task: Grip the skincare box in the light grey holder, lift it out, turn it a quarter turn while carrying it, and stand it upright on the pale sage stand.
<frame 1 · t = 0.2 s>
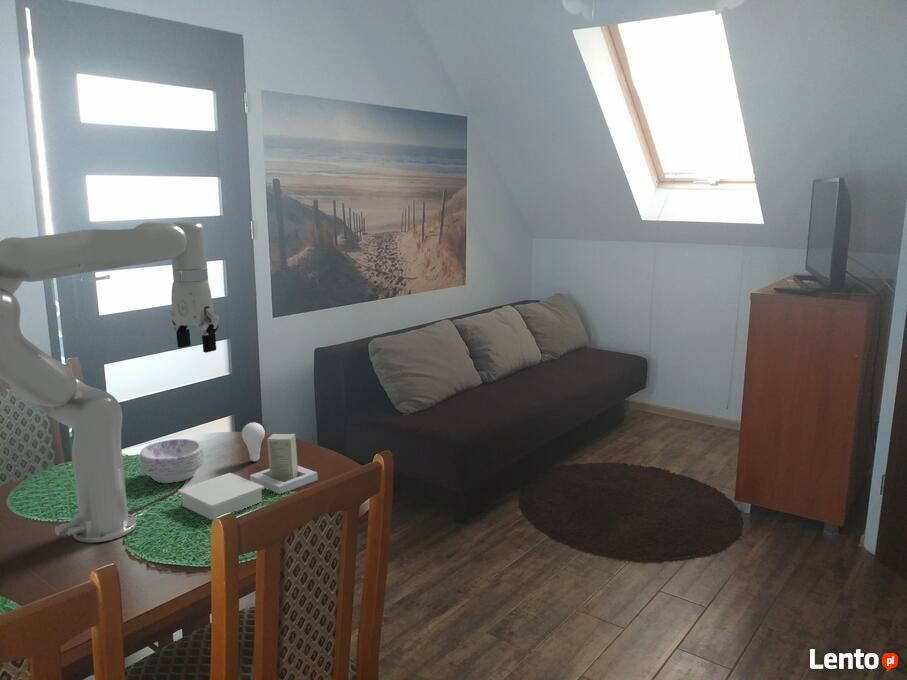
hand: (196, 349, 169), 36 cm above the table, tool pointing down, fingers open, 9 cm apart
holder: (284, 481, 184), on the table
stand: (222, 504, 171), on the table
skincare box: (284, 482, 184), resting in holder
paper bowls: (174, 477, 188), on the table
lightbulb: (254, 461, 199), on the table
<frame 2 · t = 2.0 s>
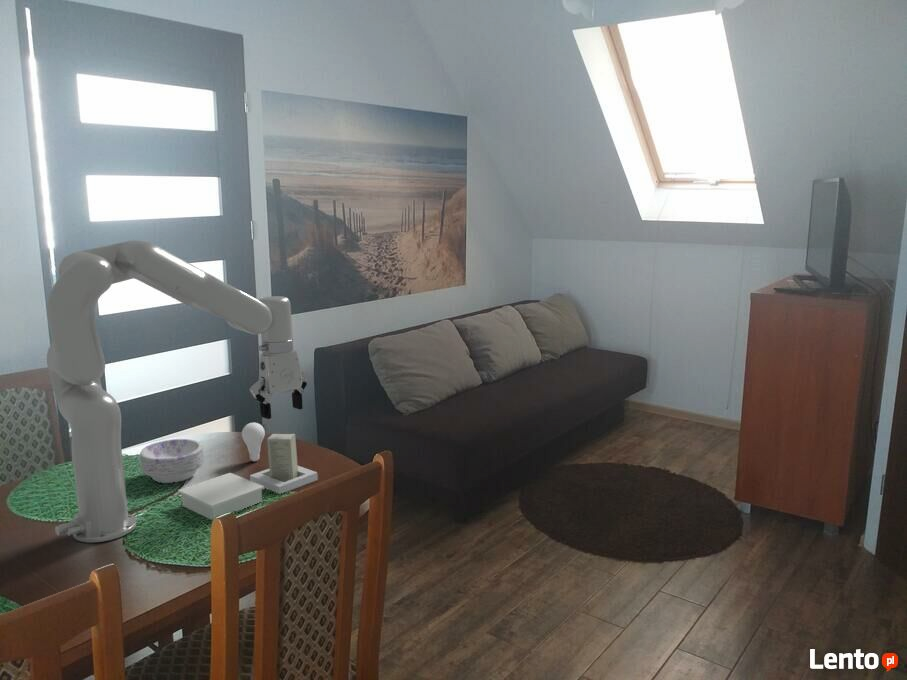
hand: (282, 413, 181), 18 cm above the table, tool pointing down, fingers open, 9 cm apart
nothing on the table moved.
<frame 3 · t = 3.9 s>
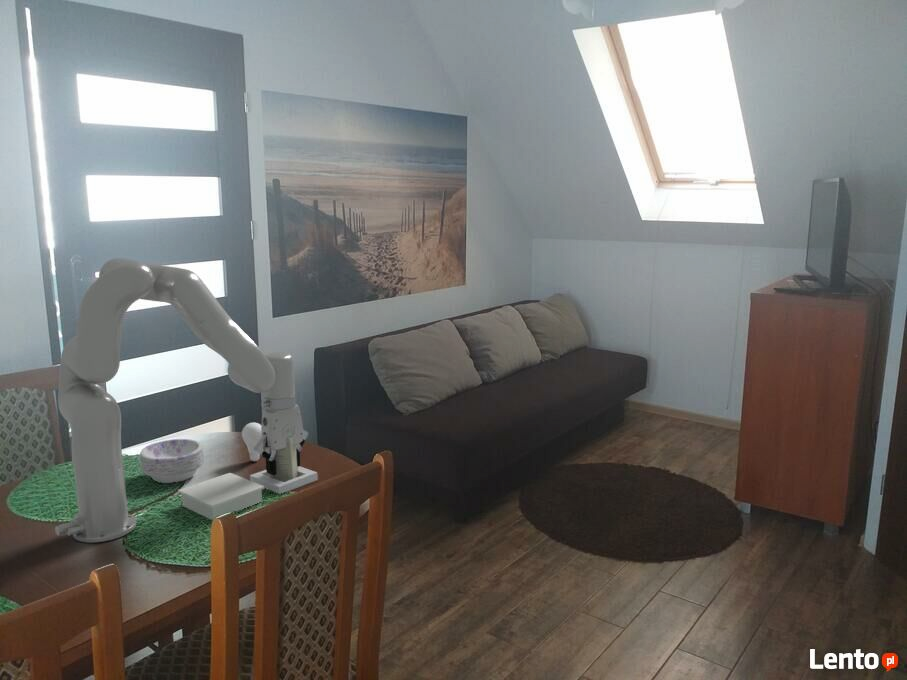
hand: (283, 469, 184), 3 cm above the table, tool pointing down, fingers closed on skincare box, 6 cm apart
skincare box: (284, 482, 184), resting in holder, touching gripper
everything else where it was.
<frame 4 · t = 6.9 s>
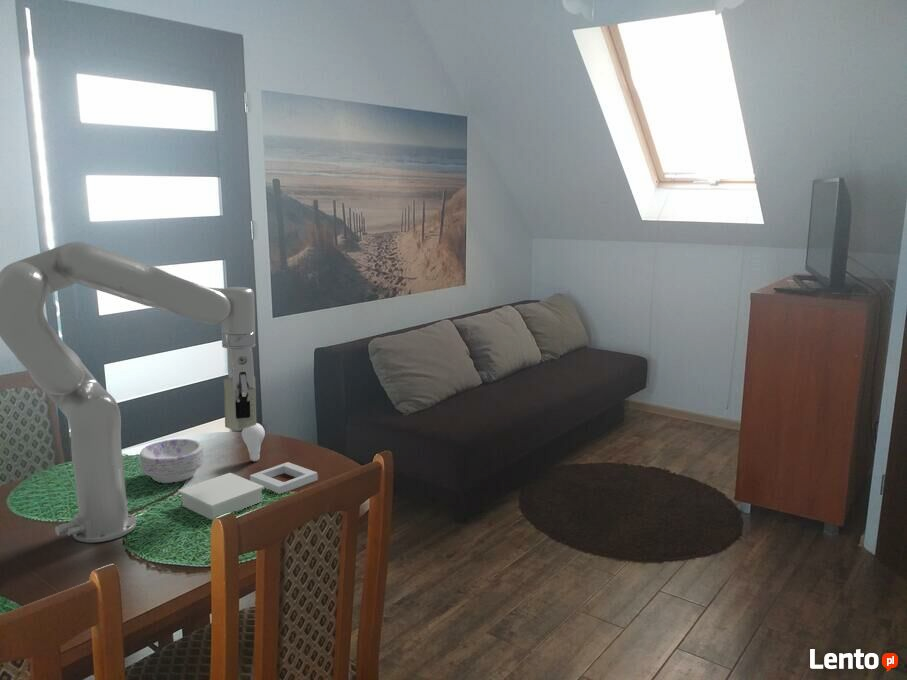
hand: (240, 413, 172), 21 cm above the table, tool pointing down, fingers closed on skincare box, 6 cm apart
skincare box: (240, 427, 172), point 17 cm above the table, touching gripper
everything else where it was.
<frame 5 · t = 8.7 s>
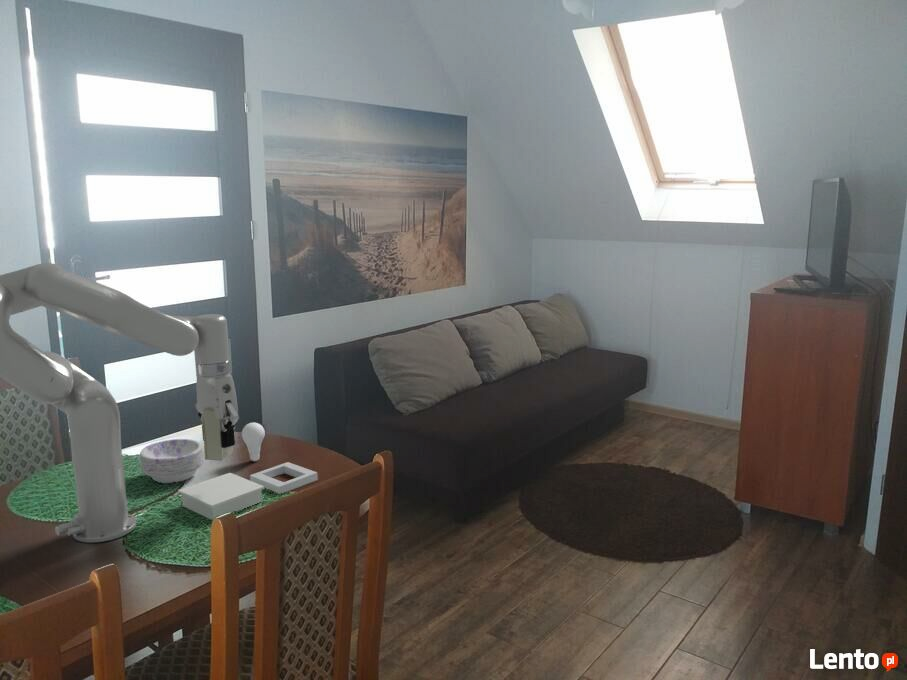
hand: (218, 442, 168), 15 cm above the table, tool pointing down, fingers closed on skincare box, 6 cm apart
skincare box: (219, 456, 168), point 12 cm above the table, touching gripper
everything else where it was.
when the fingers open (9 cm above the table, at t = 10.4 s): skincare box drops 1 cm, resting on stand.
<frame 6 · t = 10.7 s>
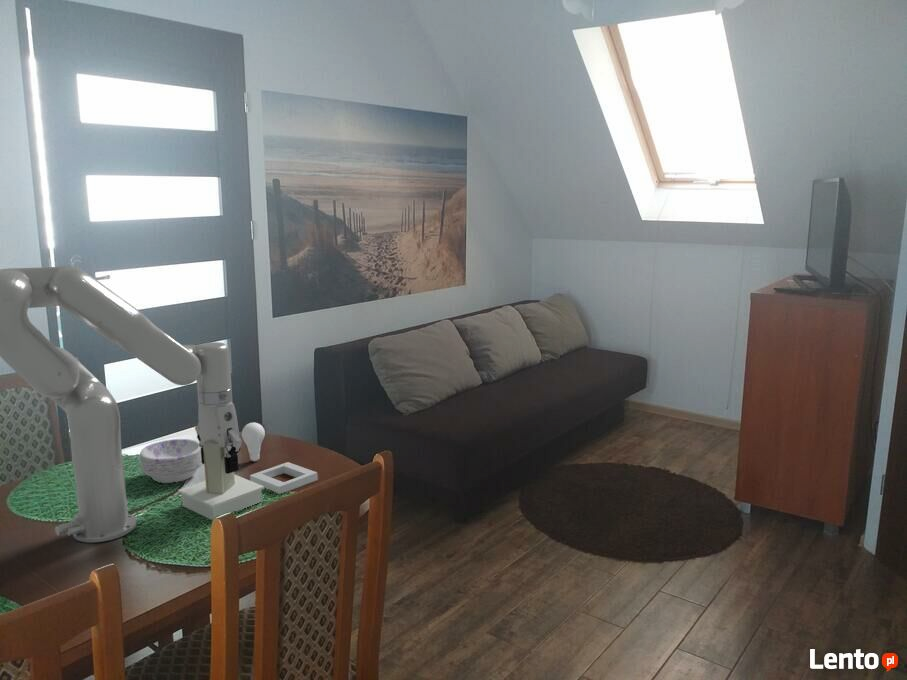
hand: (220, 467, 169), 9 cm above the table, tool pointing down, fingers open, 9 cm apart
skincare box: (221, 489, 169), point 4 cm above the table, touching stand
everything else where it was.
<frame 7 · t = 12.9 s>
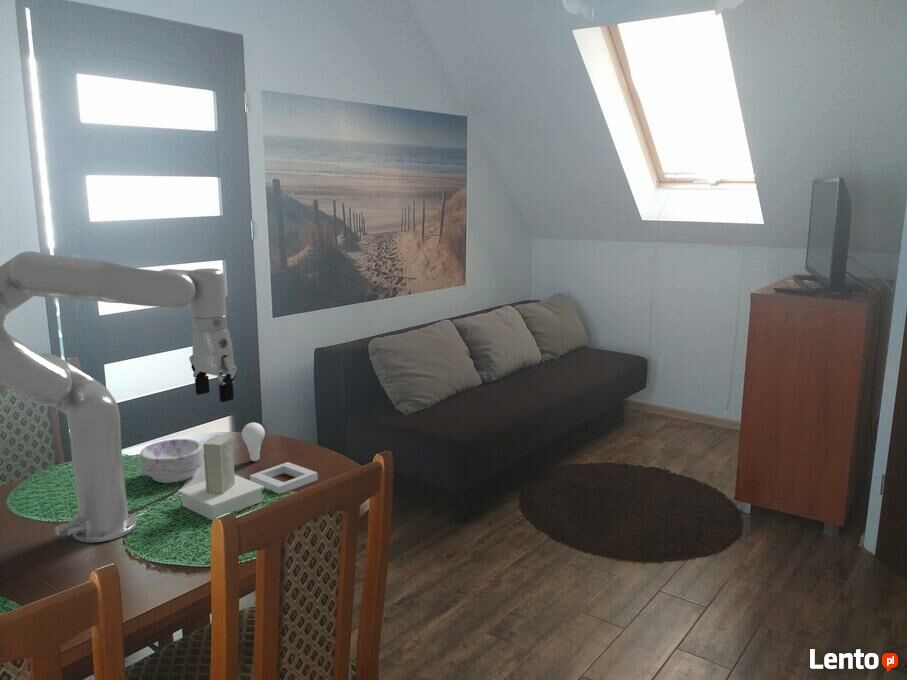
hand: (214, 397, 166), 26 cm above the table, tool pointing down, fingers open, 9 cm apart
nothing on the table moved.
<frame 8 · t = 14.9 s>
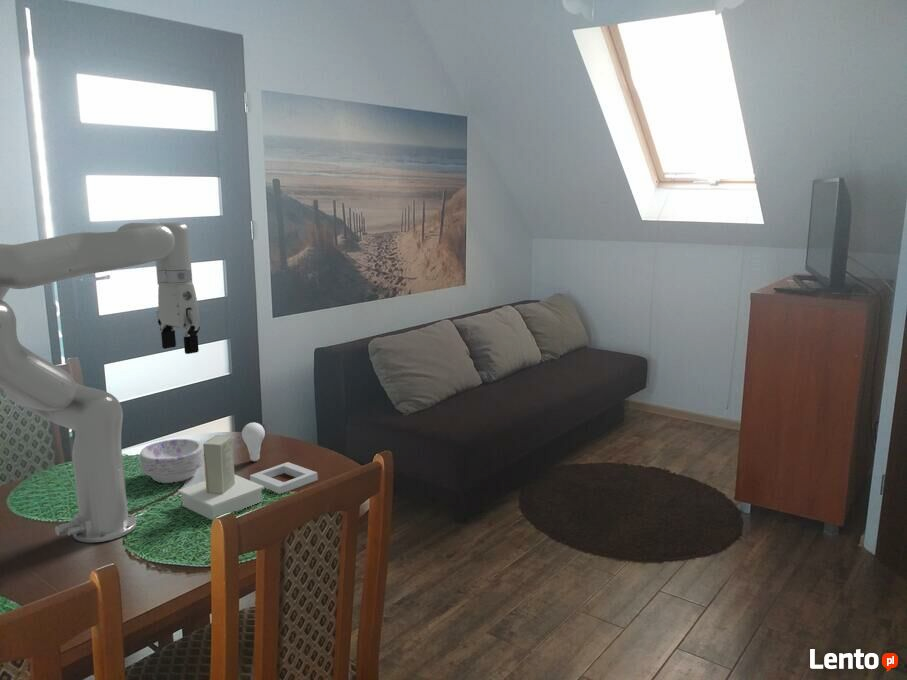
hand: (180, 350, 168), 36 cm above the table, tool pointing down, fingers open, 9 cm apart
nothing on the table moved.
at the end: skincare box inside the target area on the stand (0.4 cm from its centre), point 3.8 cm above the stand's base; skincare box tilted 0°; the gripper is holding nothing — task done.
